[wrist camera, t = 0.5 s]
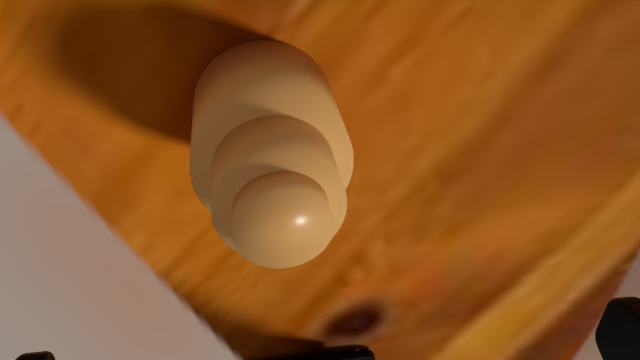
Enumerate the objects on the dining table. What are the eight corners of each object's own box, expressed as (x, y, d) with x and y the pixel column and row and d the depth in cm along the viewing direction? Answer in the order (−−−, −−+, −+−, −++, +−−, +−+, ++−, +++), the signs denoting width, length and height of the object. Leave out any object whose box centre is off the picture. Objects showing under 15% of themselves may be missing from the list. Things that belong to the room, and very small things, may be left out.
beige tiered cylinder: (327, 159, 22) (368, 289, 16) (199, 166, 21) (196, 305, 15) (333, 38, 19) (384, 145, 13) (186, 41, 18) (176, 156, 13)
